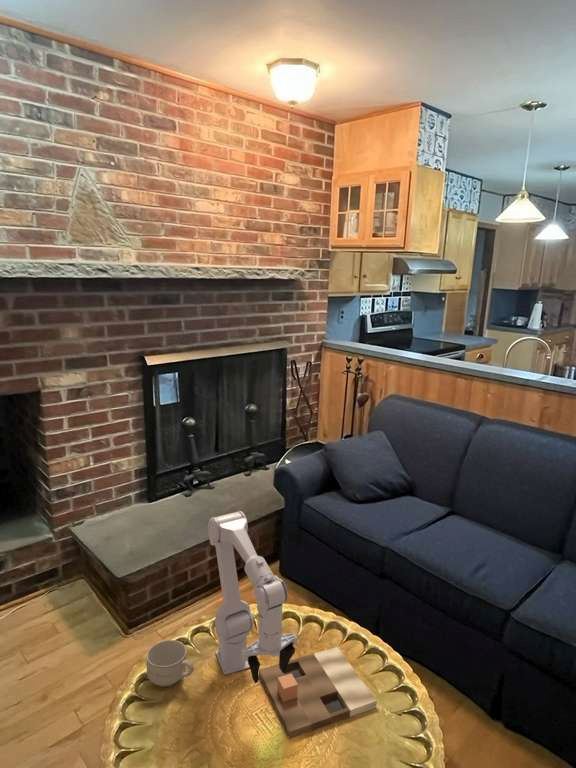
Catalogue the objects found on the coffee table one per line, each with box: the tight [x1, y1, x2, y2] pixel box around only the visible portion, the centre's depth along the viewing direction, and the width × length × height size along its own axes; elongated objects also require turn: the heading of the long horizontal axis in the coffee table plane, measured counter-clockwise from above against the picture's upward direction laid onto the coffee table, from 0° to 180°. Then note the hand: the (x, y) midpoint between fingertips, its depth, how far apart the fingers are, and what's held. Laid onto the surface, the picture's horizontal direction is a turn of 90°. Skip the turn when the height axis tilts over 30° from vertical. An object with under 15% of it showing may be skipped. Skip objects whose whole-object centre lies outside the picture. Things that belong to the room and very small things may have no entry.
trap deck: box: [258, 646, 378, 740], centre depth 133 cm, size 21×25×2 cm
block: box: [277, 673, 298, 702], centre depth 129 cm, size 4×4×4 cm
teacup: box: [145, 639, 195, 687], centre depth 134 cm, size 14×11×8 cm
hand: (268, 675), depth 124 cm, fingers open, 7 cm apart
